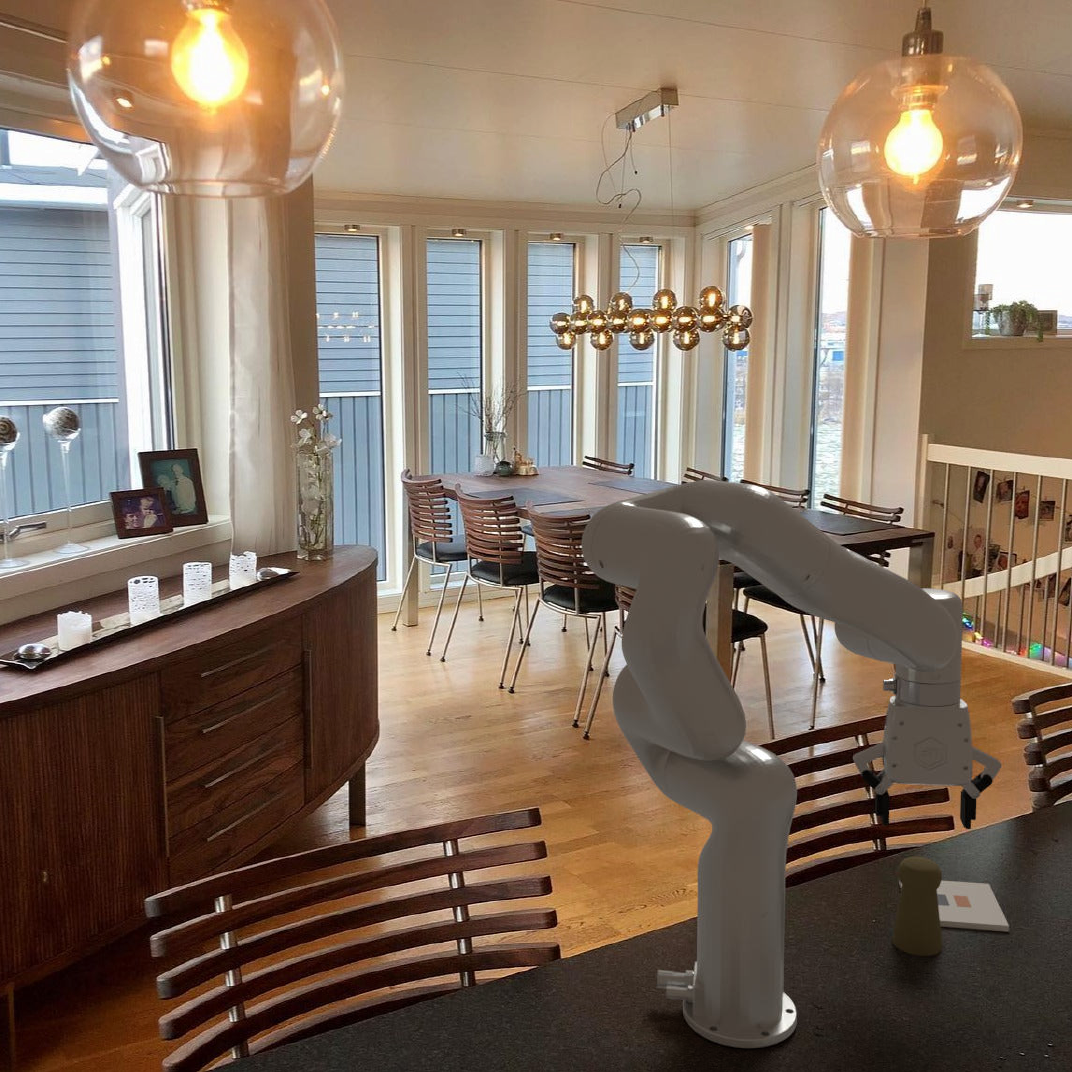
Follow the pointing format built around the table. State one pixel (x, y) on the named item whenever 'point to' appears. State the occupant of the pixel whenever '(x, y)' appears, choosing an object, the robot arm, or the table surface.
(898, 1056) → the table surface
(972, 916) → the tile
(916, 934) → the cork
